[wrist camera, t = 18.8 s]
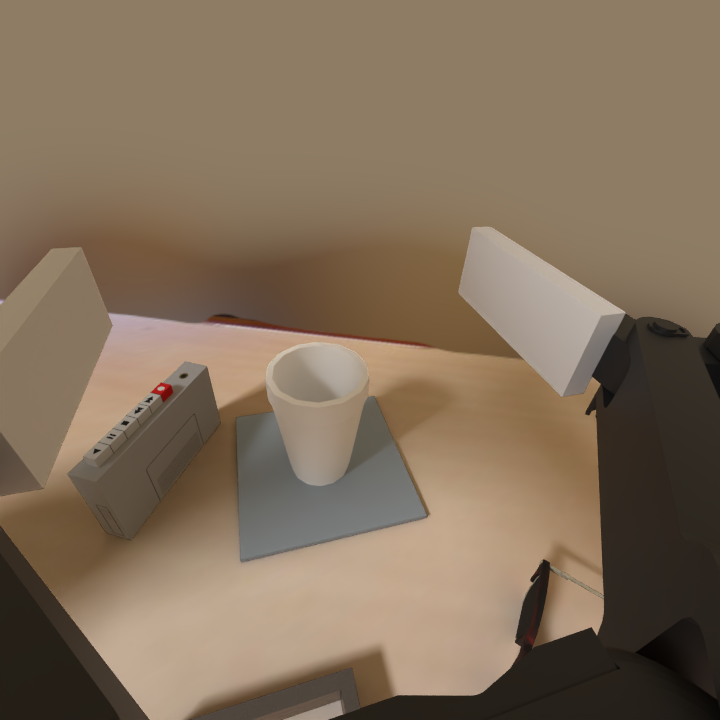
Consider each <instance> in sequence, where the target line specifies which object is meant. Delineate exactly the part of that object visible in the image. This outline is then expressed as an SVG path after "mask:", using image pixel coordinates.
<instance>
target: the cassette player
mask: <svg viewBox="0 0 720 720" xmlns="http://www.w3.org/2000/svg"><path fill="white" fill-rule="evenodd" d="M220 423H221V421H220V417H219V413H218V409H217V405H216V401H215V397H214V393H213V389H212V385H211V381H210V376H209V372H208V368H207V366H204V365H199V364H195V363H190V362H186V361H185V362H184V363H183V364H182V365H181V366H180V367H179V368H178V369H177V370H176V371H175V372H174V373H173V374H172V375H171V376H170V377H168V378H167V379H166V380H165V381H164V382H163V383H160V384H159V385H158V386H157V387H156V388H155V389H154V390H153V391H152V392H151V393H150V394H149V395H147V396H146V397H145V398H144V399H143V400H142V401H141V402H140V403H139V404H138V405H137V406H136V407H135V408H134V409H133V410H132V411H131V412H130V413H128V414H127V415H126V416H125V417H124V418H123V419H122V420H121V421H120V422H119V423H118V424H117V425H116V426H115V427H114V428H113V429H112V430H111V431H110V432H108V433H107V434H106V435H105V436H104V437H103V438H102V439H101V440H100V441H99V442H98V443H97V444H96V445H95V446H94V447H93V448H92V449H91V450H89V451H88V452H87V453H86V454H85V455H84V456H83V458H84V459H83V460H81V461H80V462H79V463H78V464H77V465H76V466H75V467H74V468H73V469H72V470H71V471H70V472H69V473H68V476H69V477H70V479H71V480H72V482H73V484H74V485H75V487H76V488H77V490H78V491H79V493H80V494H81V496H82V497H83V499H84V500H85V502H86V503H87V505H88V506H89V508H90V509H91V511H92V512H93V514H94V515H95V517H96V518H97V520H98V521H99V523H100V524H101V526H102V527H103V529H104V530H105V532H106V533H109V534H112V535H115V536H118V537H122V538H125V539H128V540H131V539H132V538H133V537H134V535H135V534H136V533H137V532H138V530H139V529H140V528H141V526H142V525H143V524H144V522H145V521H146V520H147V518H148V517H149V516H150V515H151V513H152V512H153V511H154V509H155V508H156V507H157V505H158V504H159V503H160V501H161V500H162V499H163V497H164V496H165V495H166V494H167V492H168V491H169V490H170V488H171V487H172V486H173V484H174V483H175V482H176V480H177V479H178V478H179V477H180V475H181V474H182V473H183V471H184V470H185V469H186V467H187V466H188V465H189V463H190V462H191V461H192V460H193V458H194V457H195V456H196V454H197V453H198V452H199V450H200V449H201V448H202V446H203V445H204V444H205V442H206V441H207V440H208V439H209V437H210V436H211V435H212V433H213V432H214V431H215V429H216V428H217V427H218V425H219V424H220Z"/></svg>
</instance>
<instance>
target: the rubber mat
mask: <svg viewBox="0 0 720 720" xmlns="http://www.w3.org/2000/svg"><path fill="white" fill-rule="evenodd" d="M236 432H237V466H238V500H239V535H240V561H241V562H245V561H250V560H254V559H258V558H262V557H266V556H270V555H275V554H279V553H283V552H287V551H291V550H295V549H299V548H304V547H308V546H312V545H316V544H320V543H324V542H329V541H333V540H337V539H341V538H345V537H349V536H354V535H358V534H362V533H366V532H370V531H374V530H378V529H383V528H387V527H391V526H395V525H399V524H403V523H408V522H412V521H416V520H420V519H424V518H426V517H427V514H426V512H425V510H424V508H423V505H422V503H421V501H420V499H419V496H418V494H417V492H416V489H415V487H414V485H413V483H412V480H411V478H410V476H409V474H408V471H407V469H406V467H405V465H404V462H403V460H402V458H401V455H400V453H399V451H398V449H397V446H396V444H395V442H394V440H393V437H392V435H391V433H390V431H389V428H388V426H387V424H386V421H385V419H384V417H383V415H382V412H381V410H380V408H379V406H378V403H377V401H376V399H375V396H371V397H367V399H366V401H365V403H364V406H363V410H362V414H361V418H360V422H359V426H358V430H357V434H356V438H355V442H354V446H353V450H352V454H351V458H350V462H349V464H348V468H347V470H346V472H345V474H344V476H342V477H341V478H340V479H338V480H337V481H336V482H334V483H332V484H328V485H324V486H316V485H309V484H306V483H305V482H303V481H302V480H300V479H298V478H297V476H296V474H295V473H294V471H293V469H292V466H291V464H290V460H289V457H288V454H287V451H286V448H285V445H284V441H283V438H282V435H281V432H280V429H279V426H278V422H277V419H276V416H275V413H274V412H267V413H261V414H255V415H248V416H242V417H236Z"/></svg>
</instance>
